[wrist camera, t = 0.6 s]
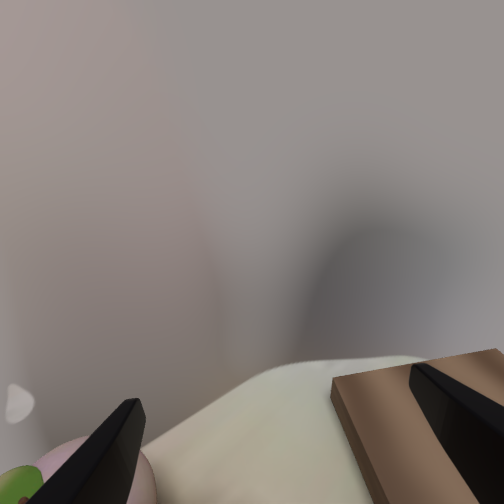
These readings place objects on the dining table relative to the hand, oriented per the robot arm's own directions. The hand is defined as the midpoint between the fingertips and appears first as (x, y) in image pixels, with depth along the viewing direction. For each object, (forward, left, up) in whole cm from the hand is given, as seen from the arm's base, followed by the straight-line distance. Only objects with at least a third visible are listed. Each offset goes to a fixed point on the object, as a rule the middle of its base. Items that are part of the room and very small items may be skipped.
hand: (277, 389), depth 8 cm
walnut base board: (0, -15, -16) cm, 22 cm away
